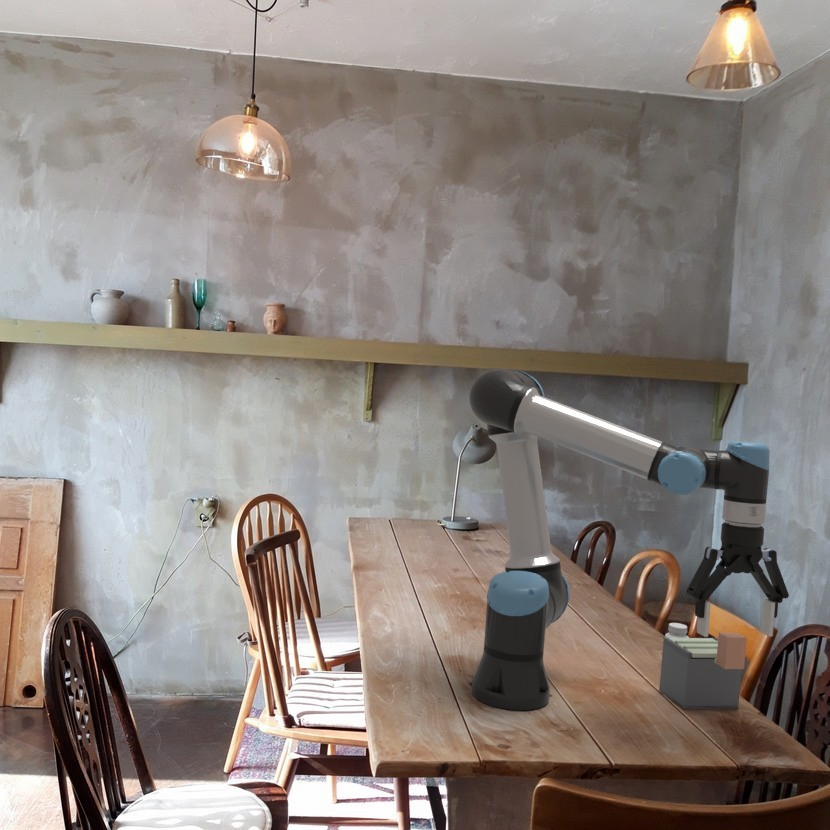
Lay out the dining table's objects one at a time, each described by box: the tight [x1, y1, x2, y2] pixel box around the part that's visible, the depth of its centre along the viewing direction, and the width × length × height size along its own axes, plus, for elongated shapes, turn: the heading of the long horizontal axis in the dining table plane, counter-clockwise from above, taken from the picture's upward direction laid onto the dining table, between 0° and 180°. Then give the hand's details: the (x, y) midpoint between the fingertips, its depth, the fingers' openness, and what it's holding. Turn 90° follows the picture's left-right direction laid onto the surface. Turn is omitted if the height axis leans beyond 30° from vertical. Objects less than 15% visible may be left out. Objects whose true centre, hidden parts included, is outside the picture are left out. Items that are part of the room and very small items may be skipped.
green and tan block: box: [668, 632, 748, 670], centre depth 164 cm, size 10×16×6 cm, turn 12°
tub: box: [658, 636, 743, 710], centre depth 167 cm, size 12×10×11 cm
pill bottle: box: [664, 622, 690, 638], centre depth 186 cm, size 5×5×10 cm
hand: (734, 634), depth 157 cm, fingers open, 13 cm apart
